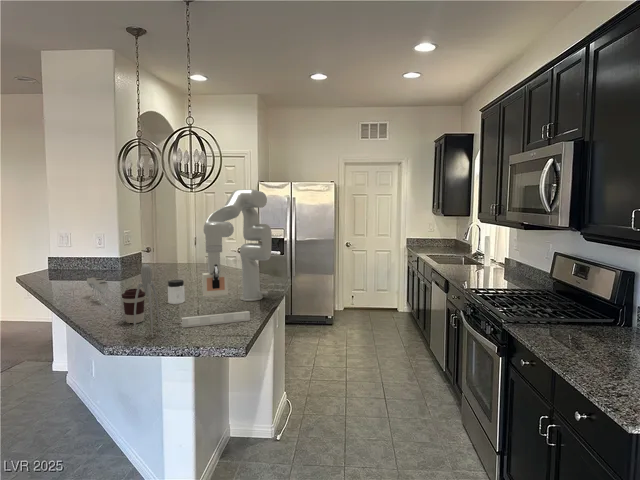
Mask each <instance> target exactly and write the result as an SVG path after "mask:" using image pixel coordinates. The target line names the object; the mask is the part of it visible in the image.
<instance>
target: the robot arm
mask: <svg viewBox="0 0 640 480" xmlns="http://www.w3.org/2000/svg"><path fill="white" fill-rule="evenodd" d="M267 201H268V197H267V195H266V193H265V192H263V191H260V190H257V189H252V188H249V189H247V188H245V189H244V188H243V189H235V190H233V191H232V193H231V194H230V196H229V197H228V199H227V201H226V202H225V204H224V206H222V207H220V208H219V209H216V210H215V211H214V212H212V213H211V214H209V216H208V217H207V219H206V221H205V222H204V224H203V233H204V235H205V238H204V239H205V240H204V241H205V253H207V273H209V274H211V273H212V275H213V280H212V288H213V289H216V288H220V282H219V273H220V272H221V253H223V238H228V237H229V238H230V237H231V236H232V235H233V234H234V231H235V229H234V225H233V224H232V222H229V221H230V220H233V219H236V218H238V217H239V215H240V214H241V213H242V217H243V218H242V220H243V222H242V223H243V224H242V225H243V226H242V227H243V228H242V234H243V239H244V240H246V241H252V242H247V243H243V244H242V245H241V246H240V248H239V254H240V255H239V256H240V259H241V261H240V262H241V269H242V271H241V272H242V273H241V277H242V295H240V297H239V299H240V301H243V302H244V301H245V302H257V301H260V300H263V297H264V296H267V295H269V291H267V290H261V285H260V266H259V264H258V262H257V261H269V260H270V259H271V256H272V240H273V239H272V232H273V231H272V228H271V226H270V225H269V224H267V223H260V222H259V218H260V216H259V213H258V211H257V210H256V209H258V208H260V209H262V208H265V206H266V205H267ZM253 242H254V243H253ZM257 242H261V243H257ZM263 295H264V296H263Z"/></svg>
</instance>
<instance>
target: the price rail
mask: <svg viewBox="0 0 640 480" xmlns="http://www.w3.org/2000/svg"><path fill="white" fill-rule="evenodd" d="M250 315H251V313H250V311H249V310H248V311H247V310H246V311H244V310H243V311H237V312H236V311H235V312H225V313H218V314H217V313H215V314H206V315H197V316H187V317H186V316H185V317H181V328H182V329H183V328H192V327H203V326H210V325H221V324H228V323H231V324H232V323H239V322H246V321H247V322H248V321H250V320H251V319H250V318H251V316H250Z"/></svg>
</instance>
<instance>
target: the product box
mask: <svg viewBox="0 0 640 480" xmlns="http://www.w3.org/2000/svg"><path fill="white" fill-rule="evenodd" d="M212 280H213V275H212V273H211V274H209V272H202V273H201V281H202V283H201V284H202V286H201V289H202V296H203V297H216V296H225V295H226V296H228V295H229V286H228V285H229V284H228V283H229V282H228V281H229V280H228V273H227V271H220V273H219V282H220V288H216V289H213V288H212Z"/></svg>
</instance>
